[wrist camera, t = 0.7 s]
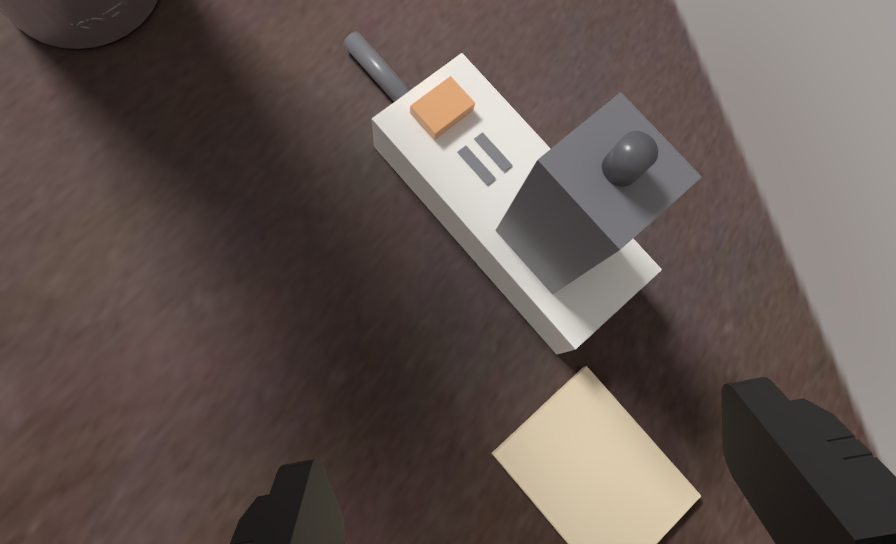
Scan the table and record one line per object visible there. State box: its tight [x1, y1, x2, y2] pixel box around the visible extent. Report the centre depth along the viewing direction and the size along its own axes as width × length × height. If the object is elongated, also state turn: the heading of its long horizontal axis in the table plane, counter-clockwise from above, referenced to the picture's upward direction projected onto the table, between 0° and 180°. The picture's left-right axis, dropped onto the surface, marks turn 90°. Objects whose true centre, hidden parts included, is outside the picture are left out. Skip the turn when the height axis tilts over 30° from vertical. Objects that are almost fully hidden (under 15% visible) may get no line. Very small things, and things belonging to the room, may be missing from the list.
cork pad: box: [491, 366, 701, 544], centre depth 30 cm, size 9×7×1 cm
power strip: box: [344, 31, 662, 355], centre depth 32 cm, size 22×6×4 cm, turn 41°
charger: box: [495, 92, 701, 295], centre depth 25 cm, size 4×4×13 cm
